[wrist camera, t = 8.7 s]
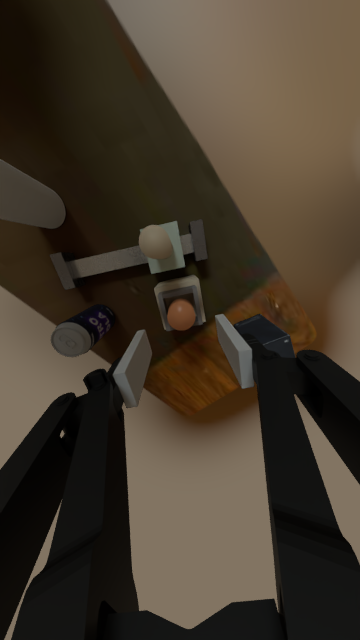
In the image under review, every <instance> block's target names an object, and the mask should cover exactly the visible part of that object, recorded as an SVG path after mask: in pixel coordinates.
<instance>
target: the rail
mask: <svg viewBox="0 0 360 640" xmlns="http://www.w3.org/2000/svg"><path fill="white" fill-rule="evenodd" d="M189 232H190V234H187V235H183V236H180V241H181V247H182V252H183V255H185V254H189V253H193V256H194V261H199V260H204V259H208V257H207V250H206V243H205V236H204V229H203V222H202V219H201V220H196V221H192V222H190V223H189ZM50 257H51V260H52V262H53V264H54V266H55V269H56V271H57V273H58V275H59V278H60V280H61V282H62V284H63V287H64V289H65V290H67V289H71V288H76V287H79V286H83V285H85V282H84V280H83V277H86V276H90V275H95V274H99V273H104V272H108V271H113V270H117V269H122V268H126V267H131V266H135V265H140V264H144V263H148V259H147V256H146V255H145V254H144V253H143V252H142V250H141V248H140V245H139V246H135V247H131V248H126V249H122V250H118V251H113V252H109V253H104V254H100V255H96V256H91V257H87V258H83V259H78V260H76V259H75V257H74V254H73V253H65V252H59V253H55V254H51V255H50Z"/></svg>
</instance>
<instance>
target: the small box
mask: <svg viewBox="0 0 360 640" xmlns="http://www.w3.org/2000/svg"><path fill="white" fill-rule="evenodd" d="M234 328H235V329H236V331H237V332H238V333H239V334H246V333H249V334H251V335H253V336H254V337H255V338H256V339H257V340H258V341H259V342H260V343H261V344H262V345H263V346H264V347H265V348H266V349H267V350H271V351H275V352H277V353H278V354H279V355H280V356H281V357H286V358H295V354H294V350H293V346H292V343H291V339H290V335H288V334H287V333H286V332H284V331H283V330H281V329H280V328H279V327H277V326H276V325H274V324H273V323H271V322H270V321H269V320H267V319H266V318H265V317H263V316H262V315H261V314H257V315H256V316H253V317H251V318H249V319H246V320H244V321H241V322H238V323H237V324H234Z"/></svg>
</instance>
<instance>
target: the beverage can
mask: <svg viewBox="0 0 360 640" xmlns="http://www.w3.org/2000/svg"><path fill="white" fill-rule="evenodd" d="M114 322H115V316H114V314H113V312H112V311H111V309H109V308H108V307H106V306H104V305H94V306H92V307H90V308H88V309H86V310H85V311H83V312H81V313H79V314H77V315H75V316H73V317H72V318H70V319H68V320H66V321H64V322H62V323H61V324H59V325H58V326H57V327H56V329H55V331H54V332H53V333H52V335H51V343H52V346H53V347H54V349H55V350H56V351H57V352H58V353H60V354H62V355H64V356H67V357H76V356H79V355H81V354H84V353H86V352H88V351H89V350H90V349H91V348H92V347H93V346H94V345H95V344H96V343H97V342H98V341H99V340H100V339H101V338H102V337H103V335H104V334H105V333H106V332H107V331H108V330H109V329H110V328H111V327H112V326H113V325H114Z"/></svg>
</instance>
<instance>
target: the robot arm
mask: <svg viewBox="0 0 360 640" xmlns="http://www.w3.org/2000/svg"><path fill="white" fill-rule="evenodd" d="M215 320H216V327H217V334H218V341H219V343H220V345H221V347H222V349H223V351H224V353H225V355H226V357H227V359H228V361H229V363H230V365H231V367H232V369H233V371H234V373H235V375H236V377H237V379H238V381H239V383H240V385H241V387H242V389H243V388H248V387H254V381H255V382H256V384H257V391H258V401H259V411H260V421H261V432H262V442H263V451H264V462H265V472H266V482H267V492H268V503H269V512H270V523H271V533H272V543H273V554H274V565H275V578H276V589H277V600H278V610H279V613H278V611H277V607H276V603H275V600H274V599H265V600H254V601H243V602H233V603H230V604H229V605H227V606H226V607H224V608H223V609H221V610H220V611H218V612H217V613H215V614H214V615H212V616H211V617H209V618H208V619H206V620H205V621H203V622H202V623H200V624H199V625H197V626H196V627H194V628H192V629H185V628H183V627H181V626H179V625H176V624H174V623H172V622H170V621H168V620H166V619H164V618H162V617H160V616H158V615H156V614H153V613H151V612H149V611H147V610H146V611H139V606H138V599H137V592H136V588H135V584H134V580H133V573H132V562H131V545H130V525H129V506H128V485H127V467H126V448H125V430H124V429H125V428H124V412H123V410H122V405H123V402H124V403H125V406H126V408H131V407H137V406H138V403H139V399H140V396H141V392H142V389H143V385H144V382H145V378H146V374H147V371H148V367H149V363H150V360H151V356H152V351H151V347H150V344H149V341H148V338H147V334H146V331H145V330H139V331H137V333H136V334H135V336H134V338H133V340H132V341H131V343H130V345H129V347H128V348H127V350H126V352H125V354H124V355H123V357H121V358H118V359H117V360H116V361H114V363H113V364H112V366H111V367H110V369H109V371H108V372H106V370H105V369H97V370H95V371H93V372H91V373H89V374H87V375H86V376H85V377H84V379H83V381H84V383H85V385H86V387H87V389H88V393H87V394H84V395H82V396H79V397H77V398H76V396H75V394H74V393H72V392H71V393H66V394H64V395H62V396H60V397H58V398H57V399H56V400H54V401H53V402H52V404H51V405H50V406H49V407H48V409H47V410H46V411H45V413H44V414H43V415H42V417H41V418H40V419H39V420H38V422H37V423H36V424H35V425H34V427H33V428H32V429H31V431H30V432H29V434H28V435H27V436H26V437H25V438H24V440H23V441H22V442H21V444H20V445H19V446H18V448H17V449H16V450H15V451H14V453H13V454H12V455H11V457H10V458H9V459H8V461H7V462H6V463H5V464H4V466H3V467H2V468H1V470H0V640H4V638H5V636H6V634H7V631H8V629H9V626H10V624H11V621H12V619H13V617H14V614H15V612H16V609H17V607H18V605H19V602H20V600H21V597H22V595H23V592H24V590H25V587H26V585H27V583H28V580H29V578H30V575H31V573H32V571H33V568H34V566H35V563H36V561H37V559H38V556H39V554H40V551H41V549H42V546H43V544H44V542H45V539H46V537H47V534H48V532H49V530H50V527H51V524H52V522H53V520H54V517H55V515H56V513H57V510H58V508H59V505H60V503H61V507H60V511H59V515H58V519H57V523H56V528H55V532H54V536H53V540H52V544H51V548H50V553H49V556H48V560H47V563H46V565H45V567H44V569H43V570H42V571H41V572H40V573H39V574H38V575H37V576H35V577H34V578H33V580H32V582H31V583H30V585H29V587H28V589H27V590H26V593H25V596H24V599H23V602H22V604H21V607H20V611H19V614H18V618H17V621H16V625H15V628H14V632H13V635H12V638H11V640H360V565H359V562H358V560H357V557H356V555H355V553H354V551H353V549H352V547H351V545H350V544H349V542H348V541H347V540H346V539H345V538H344V537H343V535H342V533H341V531H340V529H339V526H338V524H337V521H336V518H335V515H334V513H333V509H332V506H331V504H330V500H329V498H328V495H327V492H326V489H325V486H324V483H323V480H322V477H321V474H320V471H319V468H318V465H317V462H316V459H315V456H314V453H313V451H312V448H311V444H310V441H309V438H308V435H307V433H306V430H305V427H304V424H303V421H302V418H301V415H300V412H299V409H298V406H297V403H296V400H295V397H294V394H296V395H297V397H298V398H299V399H300V401H301V402H302V404H303V405H304V406H305V408H306V409H307V411H308V412H309V413H310V415H311V416H312V418H313V419H314V421H315V422H316V423H317V425H318V426H319V428H320V429H321V430H322V432H323V433H324V435H325V436H326V437H327V439H328V440H329V442H330V443H331V445H332V446H333V447H334V449H335V450H336V452H337V453H338V455H339V456H340V457H341V459H342V460H343V462H344V463H345V464H346V466H347V467H348V469H349V470H350V471H351V473H352V474H353V476H354V477H355V479H356V480H357V481H358V483H359V484H360V382H359V381H358V380H357V379H355V378H354V377H353V376H352V375H350V374H349V373H348V372H347V371H345V370H344V369H343V368H341V367H340V366H339V365H337V364H336V363H335V362H334V361H332V360H331V359H330V358H329V357H327V356H326V355H324V354H323V353H321V352H318V351H315V350H302V351H299V352H298V353H297V357H296V358H286V357H281V356H280V355H279V354H278V353H277V352H275V351H271V350H267V349H266V348H265V347H264V346H263V345H262V344H261V343H260V342H259V341H258V340H257V339H256V338H255V337H254V336H253V335H251V334H249V333H246V334H239V333H238V332H237V331H236V329H235V328H234V327H233V326H232V325H231V323H230V322H229V321H228V320H227V318H226V317H225V316H224V315H223V314H220V315H215ZM62 430H63V431H64V433H65V434H64V436H63V437H62V438H61V437H60V433H61V431H62ZM61 500H62V502H61Z"/></svg>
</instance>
